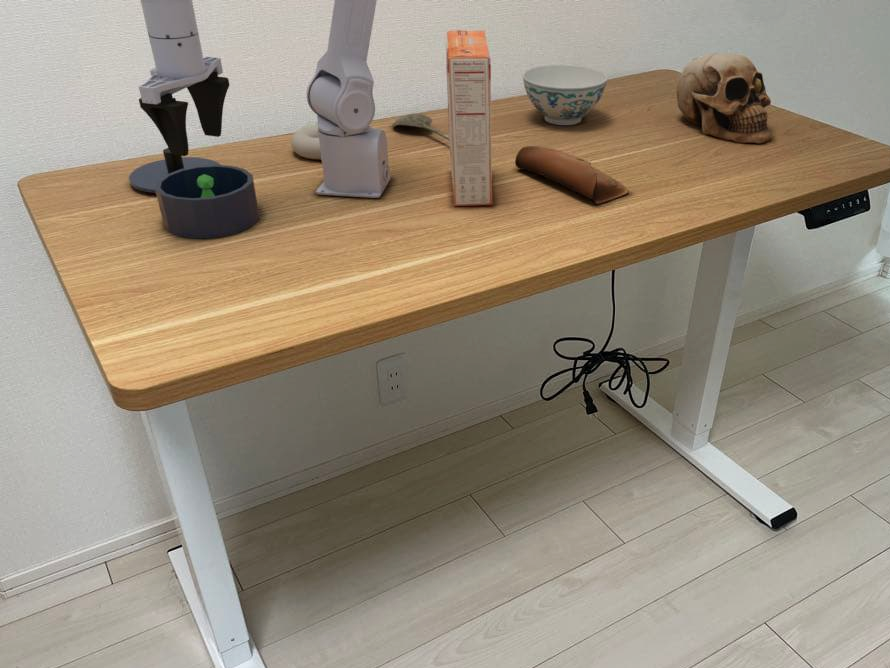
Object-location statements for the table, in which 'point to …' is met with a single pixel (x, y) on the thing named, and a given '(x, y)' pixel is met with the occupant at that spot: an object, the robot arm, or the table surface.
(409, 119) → the soupspoon
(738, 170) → the table surface
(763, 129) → the beige skull model
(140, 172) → the pan lid
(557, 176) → the sunglasses case
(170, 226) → the pan
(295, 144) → the donut
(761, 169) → the table surface
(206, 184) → the game piece
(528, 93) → the chinaware
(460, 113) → the cracker box
